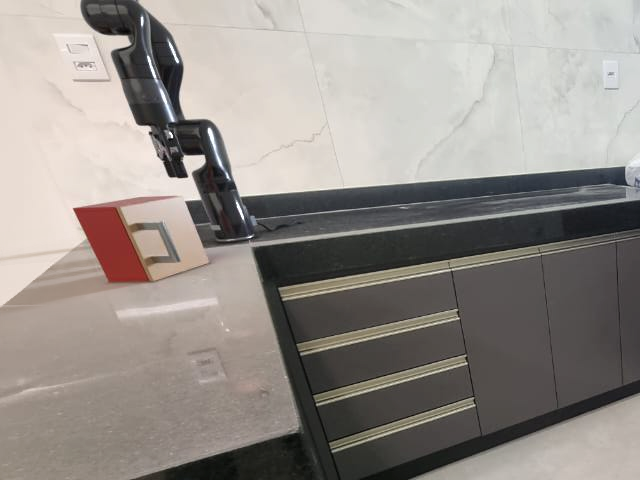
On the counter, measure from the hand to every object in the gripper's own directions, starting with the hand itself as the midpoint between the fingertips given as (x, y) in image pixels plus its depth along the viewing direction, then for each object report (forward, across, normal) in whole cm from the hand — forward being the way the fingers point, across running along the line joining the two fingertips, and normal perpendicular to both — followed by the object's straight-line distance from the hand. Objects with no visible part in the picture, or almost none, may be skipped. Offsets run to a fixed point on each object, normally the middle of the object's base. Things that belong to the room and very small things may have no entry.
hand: (178, 177), depth 126 cm
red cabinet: (+21, 0, +10) cm, 23 cm away
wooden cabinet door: (+21, -7, +5) cm, 23 cm away
